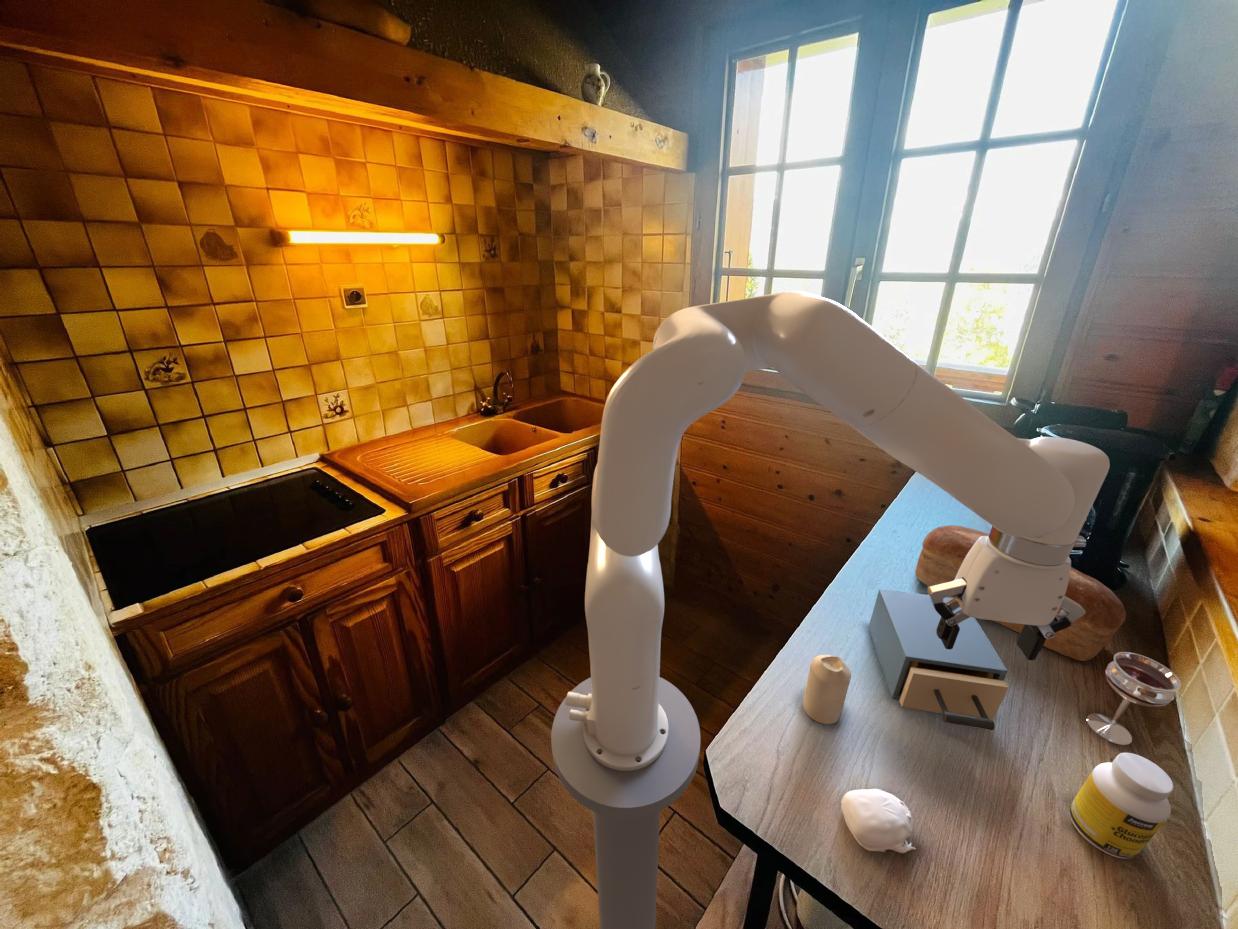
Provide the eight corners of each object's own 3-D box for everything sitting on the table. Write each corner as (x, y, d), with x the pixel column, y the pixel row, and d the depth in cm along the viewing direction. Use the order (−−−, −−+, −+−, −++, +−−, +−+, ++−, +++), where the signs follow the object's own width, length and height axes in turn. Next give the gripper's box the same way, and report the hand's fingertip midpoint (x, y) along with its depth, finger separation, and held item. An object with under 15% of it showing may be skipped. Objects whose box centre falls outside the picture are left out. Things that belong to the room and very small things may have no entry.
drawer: (1009, 755, 68) (1028, 720, 65) (912, 738, 70) (925, 703, 67) (954, 648, 85) (966, 616, 82) (877, 637, 88) (886, 605, 84)
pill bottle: (1081, 850, 58) (1124, 791, 53) (1057, 796, 64) (1093, 738, 59) (1150, 870, 56) (1201, 811, 51) (1119, 812, 62) (1162, 754, 57)
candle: (822, 688, 79) (833, 643, 75) (848, 717, 74) (861, 670, 70) (794, 700, 77) (804, 654, 73) (820, 730, 73) (832, 682, 68)
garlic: (892, 795, 64) (898, 777, 62) (922, 855, 58) (931, 837, 56) (831, 798, 64) (837, 780, 62) (856, 858, 58) (862, 840, 56)
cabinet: (988, 713, 75) (1008, 671, 71) (891, 698, 77) (905, 656, 73) (949, 638, 88) (964, 599, 84) (868, 627, 91) (879, 589, 87)
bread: (930, 558, 109) (947, 507, 104) (1112, 643, 87) (1147, 583, 81) (902, 579, 103) (919, 525, 97) (1091, 677, 80) (1127, 614, 75)
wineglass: (1153, 743, 70) (1195, 685, 65) (1118, 756, 68) (1159, 697, 63) (1100, 704, 76) (1134, 647, 71) (1067, 714, 74) (1100, 657, 69)
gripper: (1093, 530, 59) (1042, 636, 67) (936, 516, 63) (904, 618, 70) (1138, 568, 53) (1076, 680, 60) (959, 550, 56) (922, 658, 64)
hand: (984, 647), depth 65 cm, fingers open, 9 cm apart
